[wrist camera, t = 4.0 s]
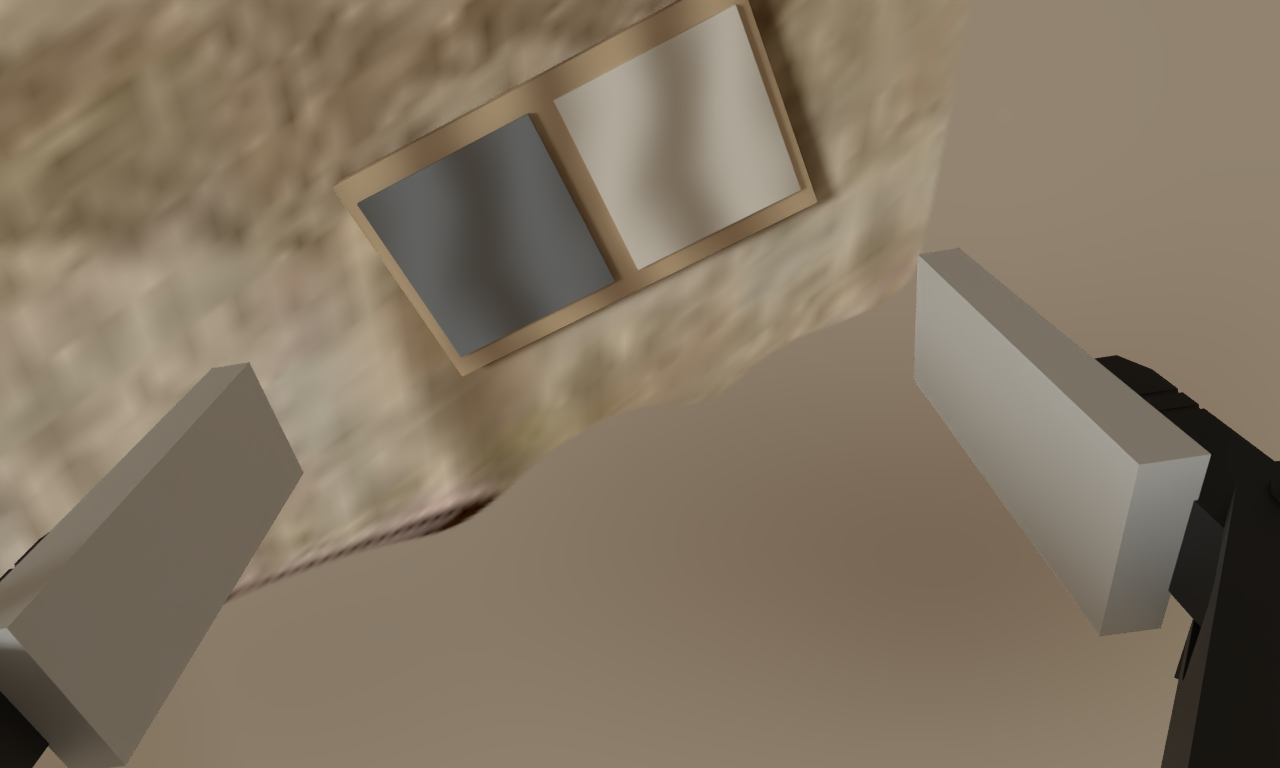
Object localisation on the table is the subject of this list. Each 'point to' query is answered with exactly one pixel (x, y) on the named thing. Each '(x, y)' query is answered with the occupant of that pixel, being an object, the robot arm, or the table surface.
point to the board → (586, 181)
